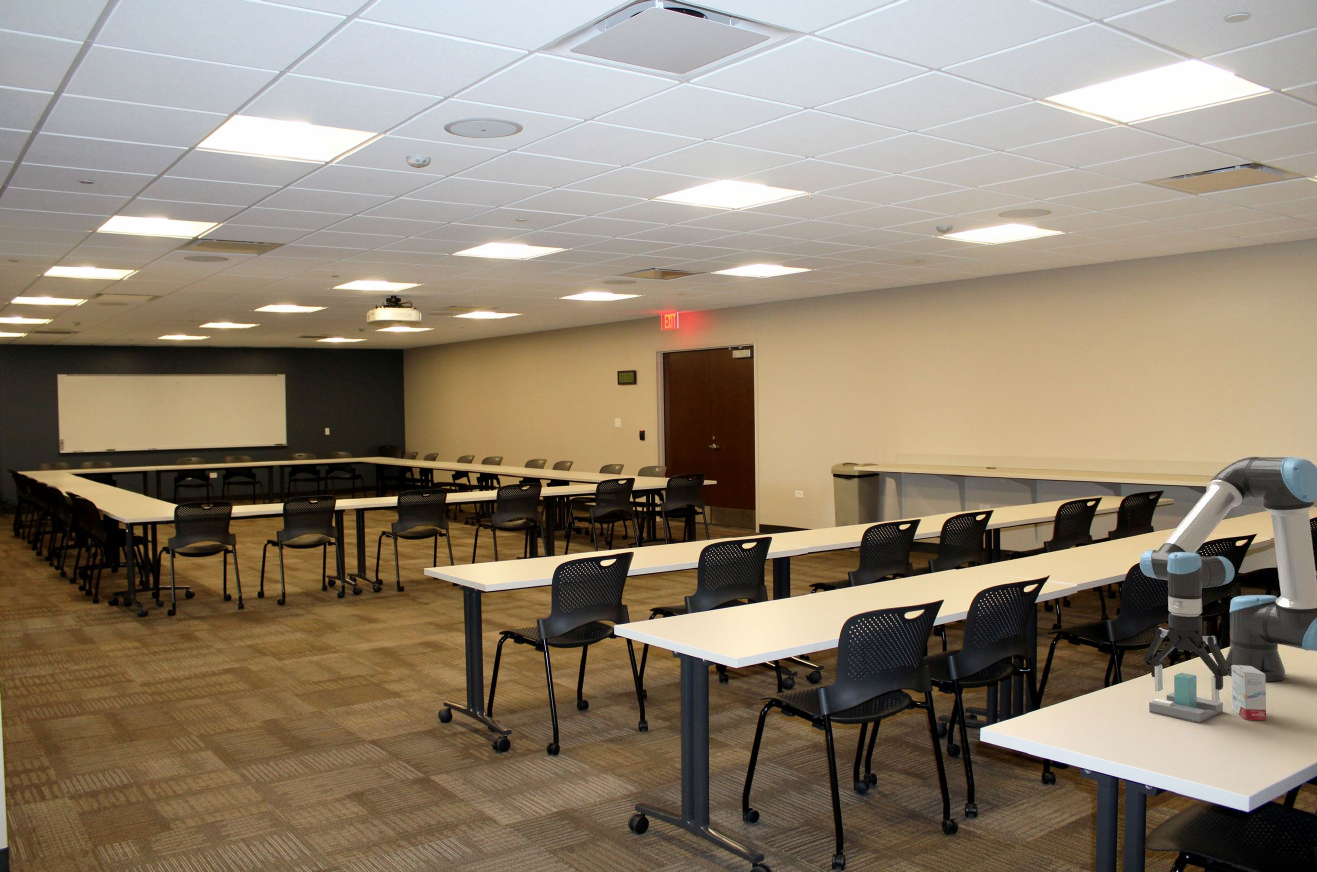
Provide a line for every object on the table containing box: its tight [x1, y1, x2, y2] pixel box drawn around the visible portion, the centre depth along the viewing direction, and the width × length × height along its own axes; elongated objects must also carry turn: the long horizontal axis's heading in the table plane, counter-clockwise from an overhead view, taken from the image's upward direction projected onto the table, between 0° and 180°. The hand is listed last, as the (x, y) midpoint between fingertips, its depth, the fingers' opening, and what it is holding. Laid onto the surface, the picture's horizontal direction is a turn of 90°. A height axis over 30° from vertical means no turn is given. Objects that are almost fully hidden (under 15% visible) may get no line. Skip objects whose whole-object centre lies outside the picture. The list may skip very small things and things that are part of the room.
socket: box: [1148, 692, 1224, 724], centre depth 237 cm, size 14×12×3 cm
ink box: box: [1231, 665, 1267, 721], centre depth 234 cm, size 9×5×12 cm, turn 168°
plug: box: [1173, 672, 1198, 708], centre depth 237 cm, size 4×4×9 cm
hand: (1186, 695), depth 237 cm, fingers open, 13 cm apart
